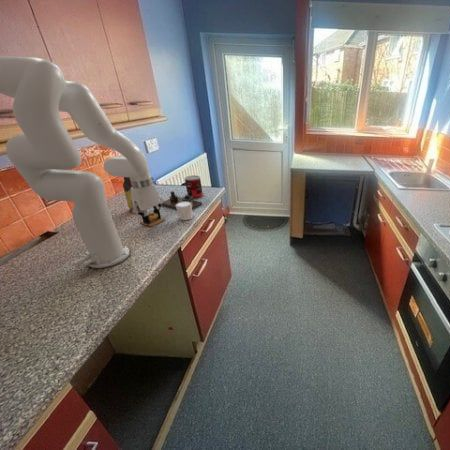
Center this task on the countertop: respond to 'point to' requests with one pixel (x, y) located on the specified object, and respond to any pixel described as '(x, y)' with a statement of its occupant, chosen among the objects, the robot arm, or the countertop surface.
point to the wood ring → (187, 199)
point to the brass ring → (152, 215)
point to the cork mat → (153, 222)
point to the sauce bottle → (128, 192)
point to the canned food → (193, 186)
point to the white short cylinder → (184, 210)
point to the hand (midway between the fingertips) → (152, 220)
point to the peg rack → (175, 200)
